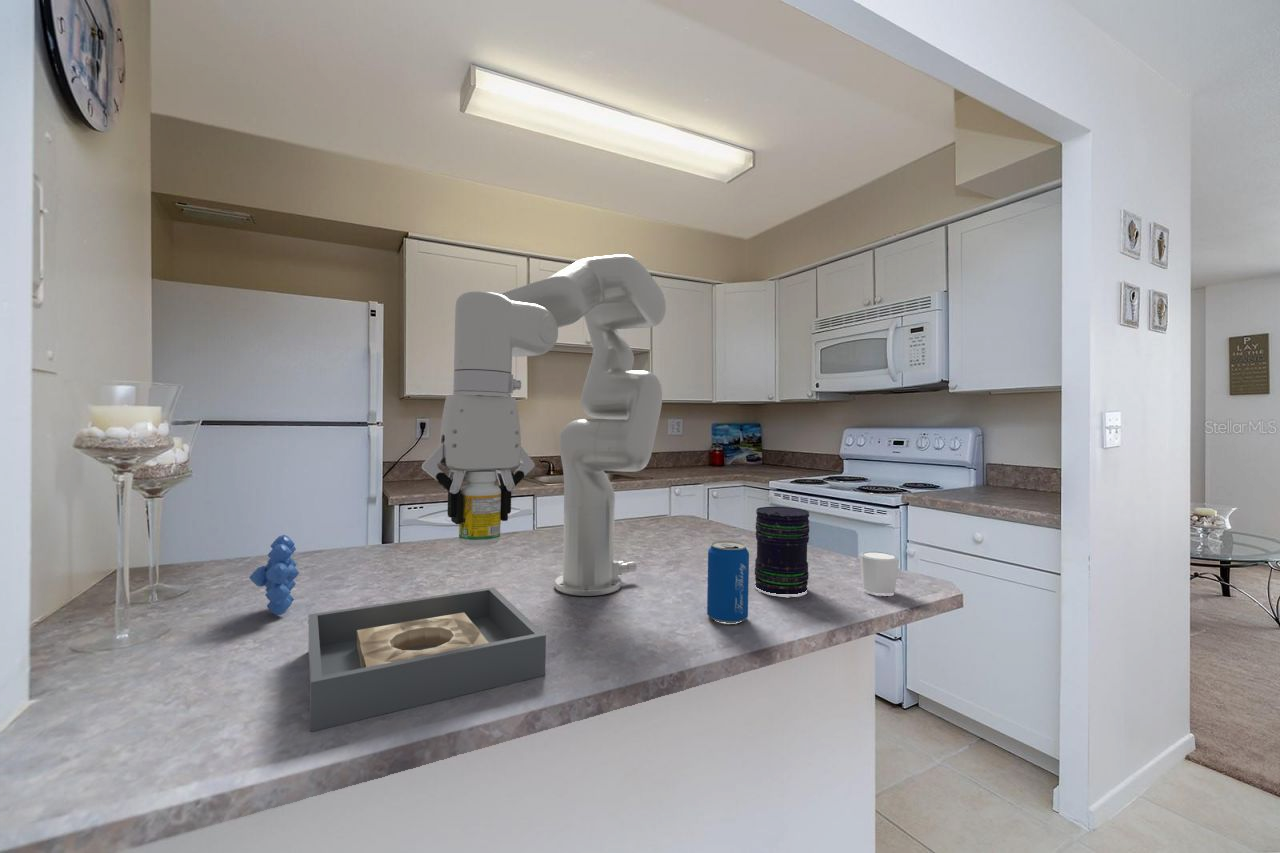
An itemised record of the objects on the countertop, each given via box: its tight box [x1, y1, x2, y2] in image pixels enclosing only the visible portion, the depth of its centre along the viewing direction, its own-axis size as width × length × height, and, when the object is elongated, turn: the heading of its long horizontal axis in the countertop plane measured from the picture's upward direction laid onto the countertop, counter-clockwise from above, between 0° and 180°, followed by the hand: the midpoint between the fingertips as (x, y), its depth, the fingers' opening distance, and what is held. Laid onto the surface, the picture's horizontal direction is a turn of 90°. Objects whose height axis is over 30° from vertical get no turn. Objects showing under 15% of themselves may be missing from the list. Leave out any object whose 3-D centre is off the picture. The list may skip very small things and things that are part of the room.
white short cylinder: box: [859, 551, 900, 593], centre depth 104 cm, size 7×7×7 cm
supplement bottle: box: [458, 470, 502, 547], centre depth 75 cm, size 5×5×10 cm
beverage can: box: [706, 540, 750, 623], centre depth 89 cm, size 6×6×12 cm
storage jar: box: [754, 506, 810, 594], centre depth 105 cm, size 10×10×15 cm
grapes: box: [249, 534, 300, 616], centre depth 89 cm, size 12×7×12 cm, turn 27°
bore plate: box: [357, 612, 489, 668], centre depth 72 cm, size 14×14×2 cm
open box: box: [307, 587, 547, 732], centre depth 72 cm, size 25×22×5 cm
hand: (479, 519), depth 75 cm, fingers closed on supplement bottle, 5 cm apart
